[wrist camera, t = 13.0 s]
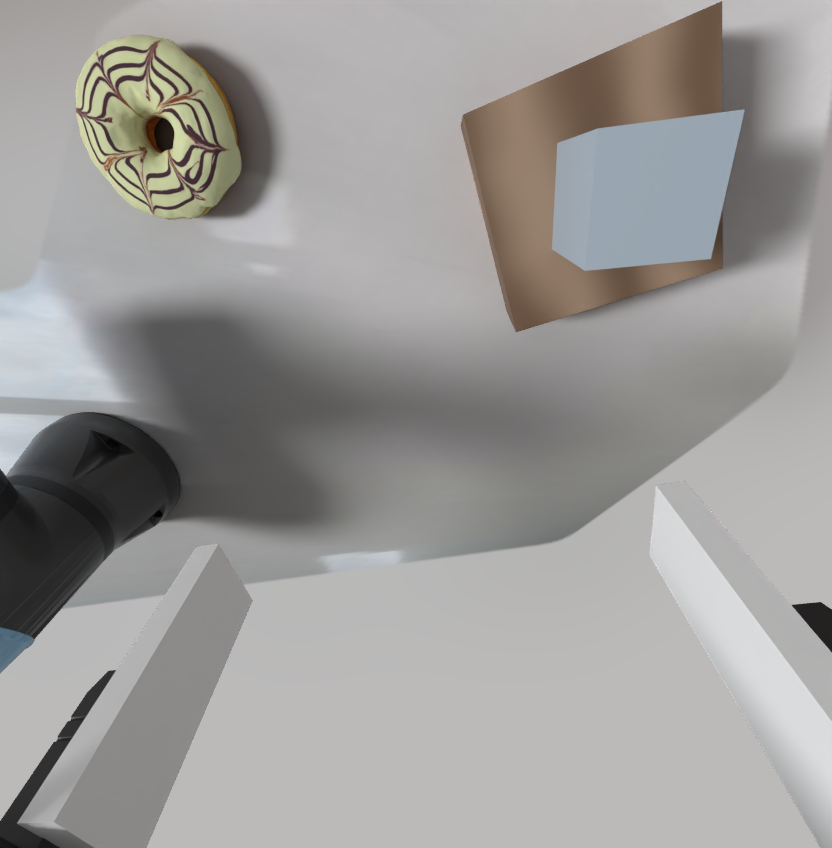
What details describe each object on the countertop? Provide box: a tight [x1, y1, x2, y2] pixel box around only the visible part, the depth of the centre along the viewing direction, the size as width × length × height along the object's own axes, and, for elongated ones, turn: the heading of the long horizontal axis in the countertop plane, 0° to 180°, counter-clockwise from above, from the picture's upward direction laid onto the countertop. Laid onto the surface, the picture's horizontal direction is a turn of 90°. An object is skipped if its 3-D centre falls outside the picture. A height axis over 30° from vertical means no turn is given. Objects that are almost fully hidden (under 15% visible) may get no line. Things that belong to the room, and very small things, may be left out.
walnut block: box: [461, 1, 723, 332], centre depth 29 cm, size 14×14×6 cm
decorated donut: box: [75, 35, 241, 220], centre depth 30 cm, size 10×11×4 cm
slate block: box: [552, 109, 745, 271], centre depth 23 cm, size 6×6×8 cm
